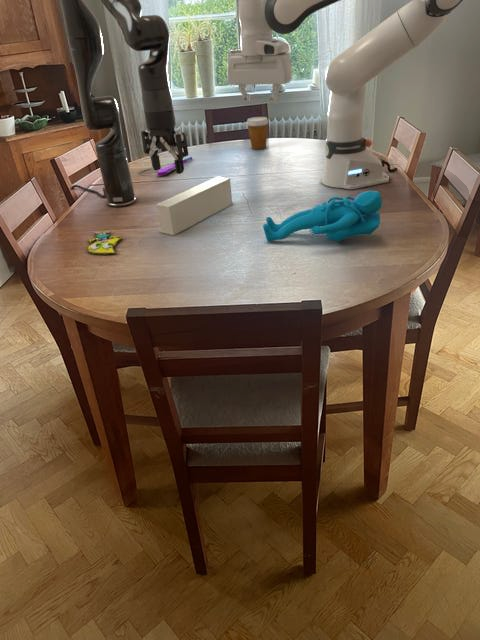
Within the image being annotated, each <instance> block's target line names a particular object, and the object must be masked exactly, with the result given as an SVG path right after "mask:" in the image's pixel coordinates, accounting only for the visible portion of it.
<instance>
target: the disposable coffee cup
mask: <svg viewBox="0 0 480 640" xmlns="http://www.w3.org/2000/svg"><path fill="white" fill-rule="evenodd" d="M268 124H269V120H268V117H266V116H255V117H254V116H253V117H250V118H247V120H246V125H247V129H248V135H249V140H250V146H251V149H252V150H262V149H266V148H267V137H268V135H267V134H268Z"/></svg>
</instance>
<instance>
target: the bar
mask: <svg viewBox="0 0 480 640" xmlns="http://www.w3.org/2000/svg"><path fill="white" fill-rule="evenodd" d="M232 194H233V193H232V184H231V178H230V177H225V176H215V177H213V178H211V179H208V180H206V181H205V182H203V183H200V184H198V185H195V186H193V187H191V188H189V189H187V190H185V191H182V192H181V193H178V194H176V195H173V196H171V197H170V198H169V197H168V198H167V199H165V200H163V201H160V202H158V203H156V204H155V205H156V212H157V217H158V223H159V228H160V233H161V234H166V235H170V236H175V235H177V234H179V233H181V232H183V231H184V230H186V229H188V228H190V227H192V226H194V225H196V224H197V223H200V222H202V221H203V220H205V219H207V218H209V217H211V216H213V215H215V214H217V213H218V212H220V211H223V210H224V209H226V208H228V207H229V206H231V205H233V196H232Z"/></svg>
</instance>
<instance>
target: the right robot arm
mask: <svg viewBox="0 0 480 640" xmlns="http://www.w3.org/2000/svg"><path fill="white" fill-rule="evenodd" d="M340 1H341V0H237V8H238V10H237V11H238V21H239V23H240V34H239V39H240V48H231V49H230V50H229V51H228V52H227V54H226V62H227V65H226V78H227V79H226V81H227V83H228V84H229V85H233V86H238V90H239V92H240V94H241V95H242V101H243V102H249V101H250V100H251V94H250V93H248V92H247V90H246V88H247V85H272V89H273V92H272V93H271V94H269V98H270V99H269V101H270V102H277V101H278V94H279V92H280V89H281V85H286V84H289V83H290V82H291V81H292V79H293V66H292V60H291V56H290V55H289V54H288V52H289V51H290V46H289V44H288V43H287V42H284V41H282V40H278V39H276V38H274V37H273V32H275V33H277V34H278V35H279V34H280V35H288V34H290V33H292V32H294V31H296V30H297V29H298V28H299V27H300V26H301V25H302V23H304V21H305V20H306V19H307V18H308V17H309V16H311V15H313V14H315V13H316V12H318V11H320V10H322V9H325V8H327V7H329V6H331V5H334V4H335V3H338V2H340ZM463 1H464V0H411V1H410V2H408V3H406V4H405V5H403V6H402V7H401V8H399V9H398V10H397V11H395V12H394V13H392V14H391V15H390V16H388V17H387V18H386V19H385V20H383V21H382V22H381V23H379V24H378V25H376V26H375V27H374V28H373V29H371V30H370V31H368V33H366V34H365V35H363V36H362V37H361V38H360V39H358V40H357V41H355V42H354V43H353V44H352V45H350V46H349V47H348V48H346V49H345V50H343V51H342V52H340V53H339V54H338V55H337V56H336V57H334V58H333V59H332V60H331V61H330V62H329V64H328V66H327V67H326V70H325V77H324V78H325V85H326V87H327V88H328V90H329V91H330V94H329V103H328V110H327V123H326V124H327V126H326V127H327V129H326V130H327V133H326V139H325V145H324V154H325V155H324V156H325V164H324V170H323V175H322V178H321V183H322V185H324V186H327V187H330V188H338V189H339V188H341V189H346V190H356V189H361V188H366V187H371V186H376V185H380V184H385V183H389V182H390V176H389V175H388V174H387V173H386V172H385V171H384V167H385V165H386V167H387V171H388V172H389V173H394V172H396V171H398V167H393V168H391V164H390V163H389V162H388V161H386V160H385V159H383V158H380V157H377V156H376V155H375V154H373V152H371V151H370V150H368V148H370V147H371V146H373V141H372V140H371V139H368V138H367V139H366V138H364V137H362V134H363V118H364V108H365V107H364V106H365V99H366V98H365V97H366V88H367V83H368V82H370V81H371V80H373V79H374V78H376V76H378V75H379V74H381V73H382V72H384V71H385V70H386V69H387V68H389V67H390V66H392V65H393V64H394V63H396V62H397V61H398V60H400V59H402V58H403V57H404V56H406V55H407V54H409V53H410V52H412V51H413V50H414V49H415V48H417V47H419V46H420V45H421V44H422V43H424V42H425V41H426V40H427V39H429V38H430V37H431V36H432V35H433V34H435V32H437V31H438V30H439V29H440V28H441V27H442V26H443V25H444V24H445V23H446V21H447V18H448V15H449V14H450V13H452V11H454V10H455V9H456V8H457V7H458V6H460V5H461V3H462V2H463Z"/></svg>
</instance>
